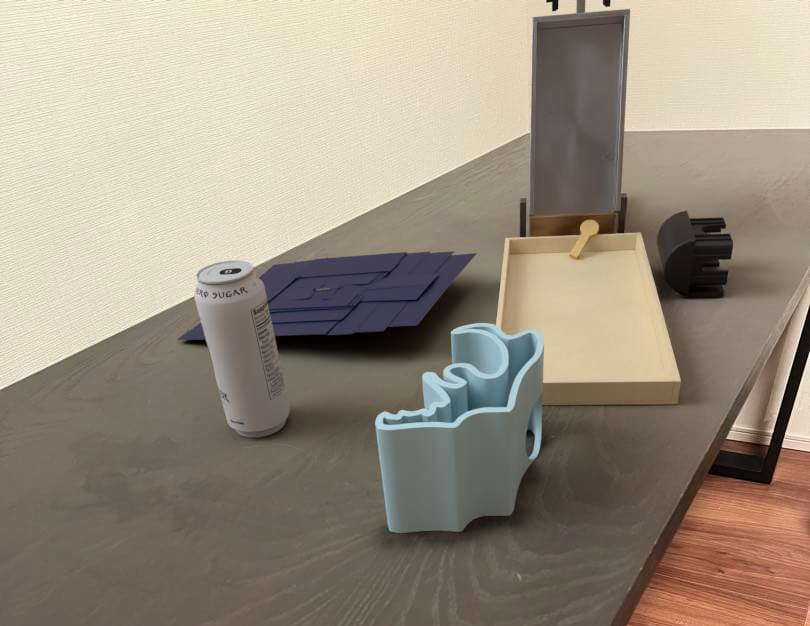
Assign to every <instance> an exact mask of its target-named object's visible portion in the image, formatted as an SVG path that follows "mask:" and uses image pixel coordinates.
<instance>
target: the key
mask: <svg viewBox="0 0 810 626" xmlns="http://www.w3.org/2000/svg"><path fill="white" fill-rule="evenodd" d="M598 232H599V225H598V223H597V222H596V221H594V220H586V221H584V222H583V223H582V224H581V226H580V233H581V235H580V236H579V238H578V240H577V241H576V243H575V245H574V247H573V248H572V250H571V252H570V253H569V256H570V257H572V258H574V259H578V257H579V256H580V254H581V252H582V251H583V249H584V247H585V245H586V244H587V242H588V240H589V238H592V237H594V236H596V235H597V234H598Z"/></svg>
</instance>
